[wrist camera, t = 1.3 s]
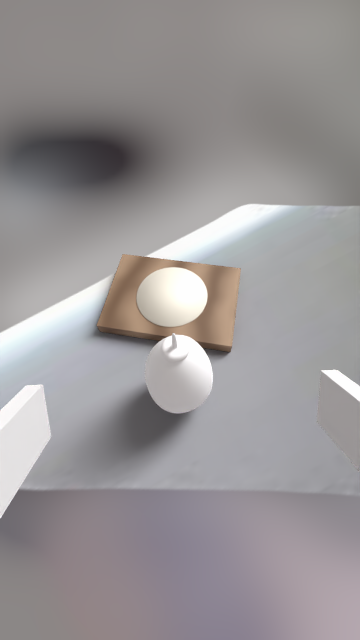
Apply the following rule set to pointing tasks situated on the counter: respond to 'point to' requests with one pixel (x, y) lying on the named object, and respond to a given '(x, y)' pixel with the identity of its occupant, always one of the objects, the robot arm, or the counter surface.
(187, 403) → the white pear with stem
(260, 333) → the counter surface
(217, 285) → the walnut board
